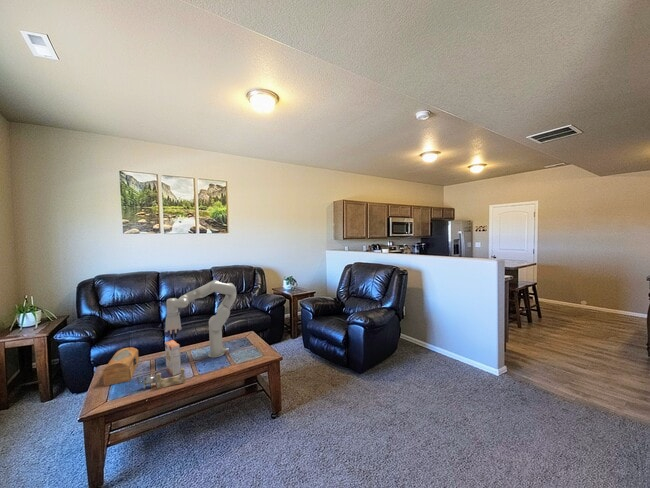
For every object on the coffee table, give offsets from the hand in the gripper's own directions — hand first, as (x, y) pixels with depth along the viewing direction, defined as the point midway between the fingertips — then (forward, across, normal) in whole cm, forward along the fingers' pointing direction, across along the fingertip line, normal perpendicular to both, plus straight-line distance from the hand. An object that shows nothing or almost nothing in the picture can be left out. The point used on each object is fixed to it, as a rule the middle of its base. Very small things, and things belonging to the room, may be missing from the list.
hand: (173, 338), depth 213 cm
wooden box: (+20, +32, +1) cm, 38 cm away
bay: (+19, 0, +32) cm, 37 cm away
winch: (+19, +14, +32) cm, 40 cm away
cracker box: (+19, 0, +16) cm, 25 cm away
